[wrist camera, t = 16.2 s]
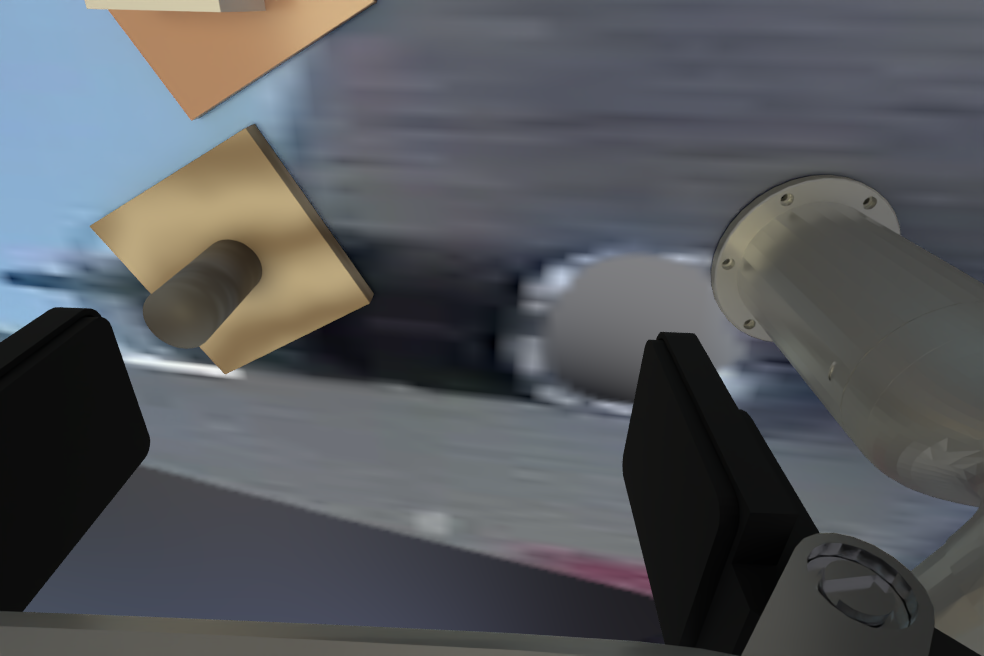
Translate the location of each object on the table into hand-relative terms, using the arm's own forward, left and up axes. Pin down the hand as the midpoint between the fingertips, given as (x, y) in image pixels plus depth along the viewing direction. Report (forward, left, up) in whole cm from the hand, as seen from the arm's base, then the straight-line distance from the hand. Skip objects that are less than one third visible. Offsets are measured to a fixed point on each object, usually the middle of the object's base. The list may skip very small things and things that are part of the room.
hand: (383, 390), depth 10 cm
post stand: (-1, +20, -30) cm, 36 cm away
